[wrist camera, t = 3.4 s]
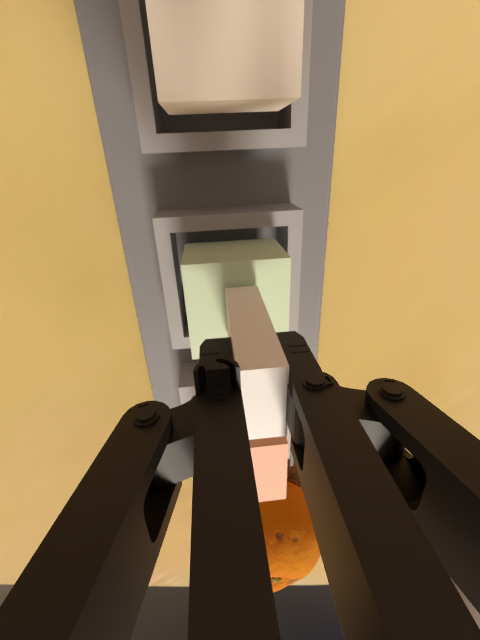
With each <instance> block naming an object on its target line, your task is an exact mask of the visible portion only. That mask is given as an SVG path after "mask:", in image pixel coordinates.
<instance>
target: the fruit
mask: <svg viewBox="0 0 480 640" xmlns="http://www.w3.org/2000/svg"><path fill="white" fill-rule="evenodd" d="M259 506H260V513H261V519H262V525H263V532H264V538H265V544H266V551H267V557H268V563H269V570H270V576H271V582H272V589H273V592H276V591H279V590H281V589H283V588H284V587H286V586H288V585H290V584H292V583H294V582H296V581H298V580H300V579H302V578H304V577H305V576H307V575H308V574H309V573H310V572H311V570H312V569H313V568H314V566H315V565H316V563H317V561H318V559H319V557H320V550H319V547H318V543H317V540H316V536H315V533H314V529H313V526H312V522H311V519H310V515H309V512H308V508H307V505H306V501H305V498H304V494H303V491H302V489H301V488H300V487H298V486H297V485H295V484H293V483H291V482H289V481H287V489H286V499H281V500H272V501H264V502H259Z"/></svg>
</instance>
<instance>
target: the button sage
mask: <svg viewBox="0 0 480 640" xmlns="http://www.w3.org/2000/svg"><path fill="white" fill-rule="evenodd" d="M181 273H182V281H183V289H184V297H185V305H186V313H187V321H188V329H189V337H190V345H191V353H192V360H193V359H199V351H200V345H201V344H202V343H203V341H204V340H205V339H213V338H225V337H228V329H227V313H226V298H225V288H232V287H246V286H258V289H259V291H260V294H261V296H262V299H263V301H264V304H265V306H266V309H267V311H268V314H269V317H270V319H271V322H272V324H273V327H274V329H275V332H288V331H289V310H290V279H291V257H290V256H289V255H288V253H287V252H286V251H285V250H284V249H283V248H282V246H281V245H280V244H279V243H278V242H277V241H276V239H275V238H267V239H251V240H235V241H219V242H203V243H188V244H185V246H184V250H183V255H182V260H181Z"/></svg>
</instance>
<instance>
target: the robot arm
mask: <svg viewBox="0 0 480 640" xmlns="http://www.w3.org/2000/svg"><path fill="white" fill-rule="evenodd" d="M225 298H226V313H227V329H228V337H225V338H213V339H205V340H204V341H203V343H202V344H201V345H200V351H199V363H198V364H197V365H196V366H195V367H194V370H193V376H194V384H195V392H196V395H195V396H194V397H193V398H192V399H191V400H189V401H188V402H186V403H184V404H182V405H180V406H177V407H174V408H171V409H170V408H169V406H167V405H166V404H165V403H163V402H159V401H145V402H142V403H139V404H136V405H135V406H133V407H132V408H130V409H129V410H128V411H127V412H126V413H125V414H124V415H123V416H122V418H121V419H120V421H119V423H118V424H117V426H116V427H115V429H114V430H113V432H112V433H111V435H110V437H109V438H108V440H107V441H106V443H105V444H104V446H103V447H102V449H101V451H100V452H99V454H98V455H97V457H96V458H95V460H94V462H93V463H92V465H91V466H90V468H89V469H88V471H87V472H86V474H85V476H84V477H83V479H82V480H81V482H80V483H79V485H78V486H77V488H76V490H75V491H74V493H73V494H72V496H71V497H70V499H69V500H68V502H67V504H66V505H65V507H64V508H63V510H62V511H61V513H60V514H59V516H58V518H57V519H56V521H55V522H54V524H53V525H52V527H51V528H50V530H49V532H48V533H47V535H46V536H45V538H44V539H43V541H42V543H41V544H40V546H39V547H38V549H37V550H36V552H35V553H34V555H33V557H32V558H31V560H30V561H29V563H28V564H27V566H26V567H25V569H24V571H23V572H22V574H21V575H20V577H19V578H18V580H17V581H16V583H15V585H14V586H13V588H12V589H11V591H10V592H9V594H8V596H7V597H6V599H5V600H4V602H3V603H2V605H1V606H0V640H130V639H131V636H132V633H133V630H134V627H135V624H136V621H137V618H138V615H139V612H140V609H141V606H142V603H143V600H144V597H145V594H146V591H147V588H148V585H149V582H150V579H151V576H152V573H153V570H154V567H155V564H156V561H157V558H158V555H159V552H160V549H161V546H162V543H163V540H164V537H165V534H166V531H167V528H168V525H169V522H170V519H171V516H172V513H173V510H174V507H175V504H176V501H177V498H178V495H179V492H180V489H181V486H182V481H183V480H185V479H187V478H190V477H192V476H193V496H192V526H191V555H190V585H189V615H188V617H189V618H188V640H281V639H280V634H279V627H278V620H277V614H276V608H275V601H274V595H273V589H272V582H271V576H270V570H269V563H268V557H267V551H266V544H265V538H264V532H263V525H262V519H261V513H260V506H259V500H258V494H257V487H256V481H255V475H254V468H253V462H252V456H251V449H250V443H249V440H252V439H262V438H271V437H281V436H287V425H288V428H289V431H290V435H291V441H290V466H293V464H294V463H295V466H296V470H297V473H298V477H299V480H300V484H301V487H302V491H303V494H304V498H305V501H306V505H307V508H308V512H309V515H310V519H311V522H312V526H313V529H314V533H315V536H316V540H317V543H318V547H319V550H320V554H321V557H322V561H323V564H324V568H325V571H326V575H327V578H328V582H329V585H330V589H331V592H332V596H333V599H334V603H335V606H336V610H337V613H338V616H339V620H340V623H341V627H342V631H343V634H344V638H345V640H480V629H479V628H478V626H477V624H476V622H475V621H474V619H473V617H472V615H471V614H470V612H469V610H468V608H467V607H466V605H465V603H464V601H463V600H462V598H461V596H460V595H459V593H458V591H457V589H456V588H455V586H454V584H453V582H452V581H451V579H450V577H451V578H452V579H453V581H454V582H455V583H456V585H457V586H458V587H459V589H460V590H461V591H462V592H463V593H464V595H465V596H466V597H467V599H468V600H469V601H470V602H471V603H472V605H473V606H474V607H475V608H476V610H477V611H478V612H479V613H480V440H479V439H477V438H476V437H475V436H474V435H472V434H471V433H470V432H468V431H467V430H466V429H464V428H463V427H462V426H461V425H459V424H458V423H457V422H455V421H454V420H453V419H451V418H450V417H449V416H448V415H446V414H445V413H444V412H442V411H441V410H440V409H438V408H437V407H436V406H435V405H433V404H432V403H431V402H429V401H428V400H427V399H425V398H424V397H423V396H422V395H420V394H419V393H418V392H416V391H415V390H414V389H412V388H411V387H410V386H408V385H406V384H405V383H403V382H400V381H397V380H394V379H387V378H380V379H375V380H373V381H371V382H369V384H368V385H367V388H366V390H358V389H350V388H345V387H341V386H339V384H338V382H337V381H336V380H335V379H334V378H333V377H332V376H331V375H329V374H327V373H324V372H322V370H321V368H320V366H319V364H318V363H317V361H316V359H315V357H314V355H313V353H312V352H311V350H310V348H309V346H308V344H307V342H306V340H305V339H304V337H303V336H302V335H300V334H299V333H297V332H296V331H288V332H275V329H274V327H273V324H272V322H271V319H270V317H269V314H268V311H267V309H266V306H265V304H264V301H263V299H262V296H261V294H260V291H259V289H258V286H246V287H232V288H225ZM405 448H406V449H407V450H408V451H409V452H410V453H411V454H412V455H411V454H410V453H409V452H408V451H407V450H406V449H405ZM449 576H450V577H449Z"/></svg>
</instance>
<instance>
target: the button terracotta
mask: <svg viewBox="0 0 480 640" xmlns="http://www.w3.org/2000/svg"><path fill="white" fill-rule="evenodd" d="M249 443H250V449H251V456H252V462H253V468H254V475H255V481H256V487H257V494H258V500H259V502H264V501H272V500H281V499H286V489H287V461H288V442H287V438H286V436H281V437H271V438H262V439H252V440H249Z"/></svg>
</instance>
